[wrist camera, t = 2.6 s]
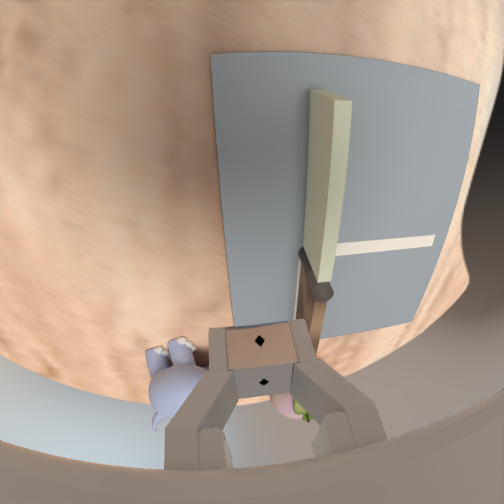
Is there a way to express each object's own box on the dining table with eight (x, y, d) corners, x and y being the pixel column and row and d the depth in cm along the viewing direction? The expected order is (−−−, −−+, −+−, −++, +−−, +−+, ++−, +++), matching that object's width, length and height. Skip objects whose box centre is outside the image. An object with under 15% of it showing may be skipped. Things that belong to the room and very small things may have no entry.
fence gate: (314, 243, 30) (330, 281, 26) (302, 244, 30) (317, 282, 26) (324, 89, 21) (352, 101, 17) (309, 88, 21) (334, 100, 17)
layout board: (210, 54, 20) (210, 54, 19) (477, 83, 21) (480, 84, 21) (236, 346, 40) (236, 349, 40) (410, 319, 42) (411, 322, 41)
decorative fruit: (252, 362, 43) (261, 425, 35) (302, 338, 40) (319, 403, 32) (285, 383, 48) (295, 437, 40) (329, 363, 45) (346, 418, 38)
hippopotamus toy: (260, 359, 43) (269, 418, 35) (177, 387, 46) (176, 440, 38) (219, 318, 36) (222, 388, 29) (130, 355, 40) (122, 415, 32)
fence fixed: (298, 245, 31) (316, 292, 25) (316, 244, 31) (336, 289, 25) (290, 344, 40) (299, 386, 35) (303, 342, 40) (314, 384, 35)
